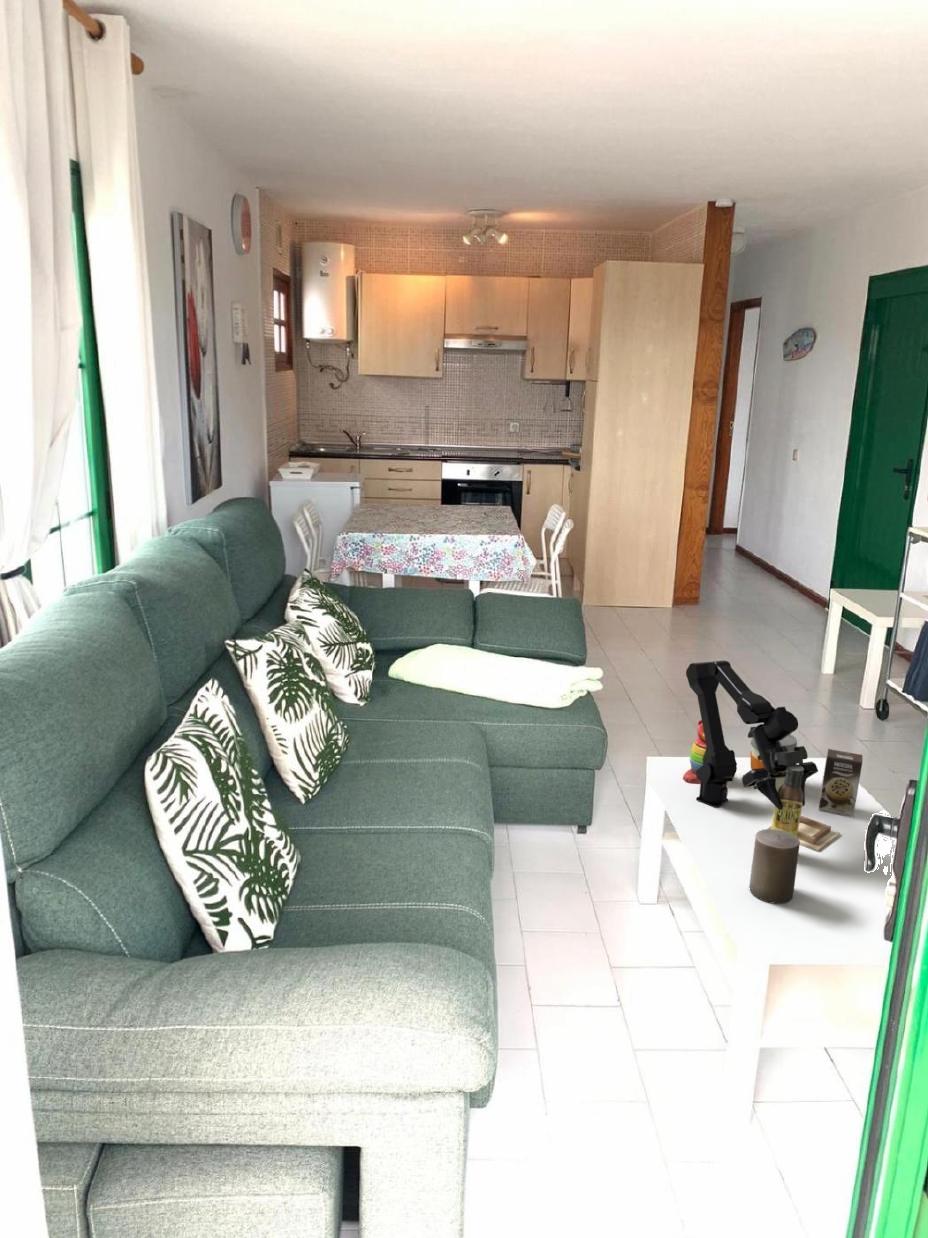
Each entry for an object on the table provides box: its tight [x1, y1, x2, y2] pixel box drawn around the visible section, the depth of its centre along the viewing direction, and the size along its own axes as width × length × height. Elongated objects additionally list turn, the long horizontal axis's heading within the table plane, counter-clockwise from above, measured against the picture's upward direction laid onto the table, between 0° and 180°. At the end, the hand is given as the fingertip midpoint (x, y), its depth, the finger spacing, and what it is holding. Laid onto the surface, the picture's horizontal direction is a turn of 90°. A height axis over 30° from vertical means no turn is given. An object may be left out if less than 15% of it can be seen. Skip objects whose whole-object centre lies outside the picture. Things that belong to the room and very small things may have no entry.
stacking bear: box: [682, 719, 707, 785], centre depth 277 cm, size 11×10×18 cm
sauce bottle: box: [770, 764, 804, 837], centre depth 234 cm, size 6×6×20 cm
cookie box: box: [818, 748, 863, 818], centre depth 260 cm, size 9×6×16 cm
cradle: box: [767, 815, 841, 852], centre depth 248 cm, size 14×13×2 cm
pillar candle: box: [748, 828, 801, 904], centre depth 218 cm, size 10×10×15 cm
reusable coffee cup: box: [749, 733, 798, 792], centre depth 274 cm, size 13×12×15 cm
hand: (792, 807), depth 233 cm, fingers closed on sauce bottle, 6 cm apart
